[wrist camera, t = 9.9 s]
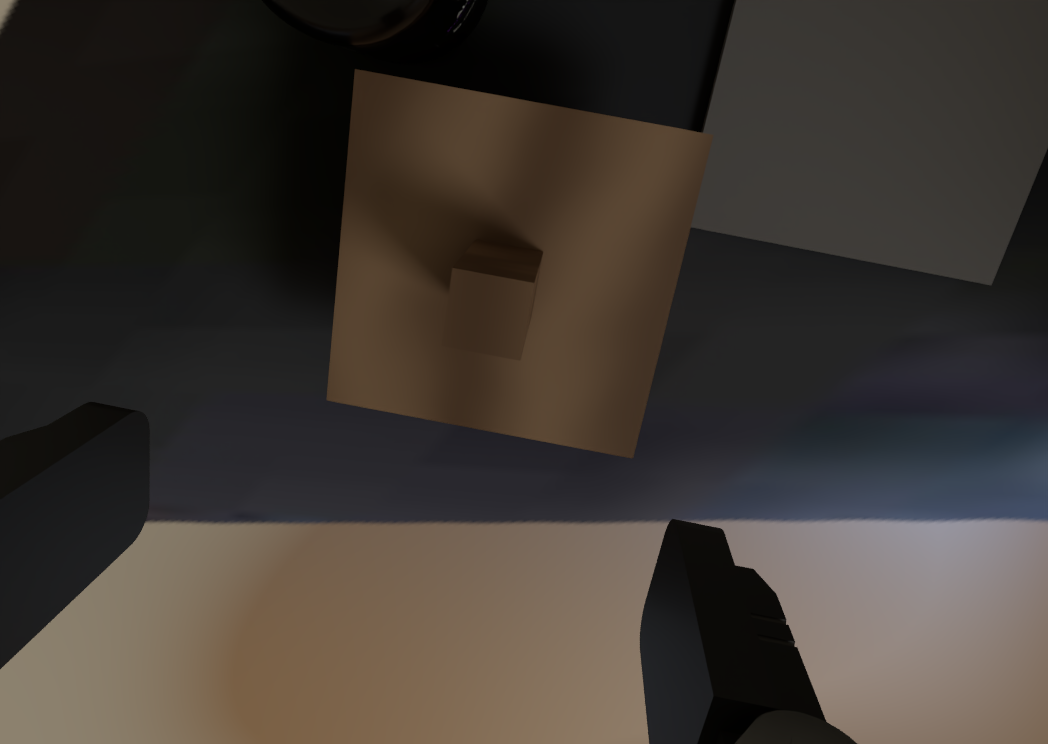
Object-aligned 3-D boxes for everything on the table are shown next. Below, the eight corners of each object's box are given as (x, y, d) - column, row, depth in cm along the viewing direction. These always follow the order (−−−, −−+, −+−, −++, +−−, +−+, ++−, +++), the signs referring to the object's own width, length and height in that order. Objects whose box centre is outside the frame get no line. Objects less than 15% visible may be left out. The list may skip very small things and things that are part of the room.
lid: (709, 134, 25) (745, 140, 19) (631, 449, 29) (642, 528, 24) (362, 70, 25) (299, 59, 20) (333, 392, 29) (275, 457, 24)
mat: (1128, -70, 26) (1138, -73, 26) (984, 282, 31) (991, 285, 30) (768, -138, 26) (771, -142, 26) (678, 223, 31) (679, 225, 30)
